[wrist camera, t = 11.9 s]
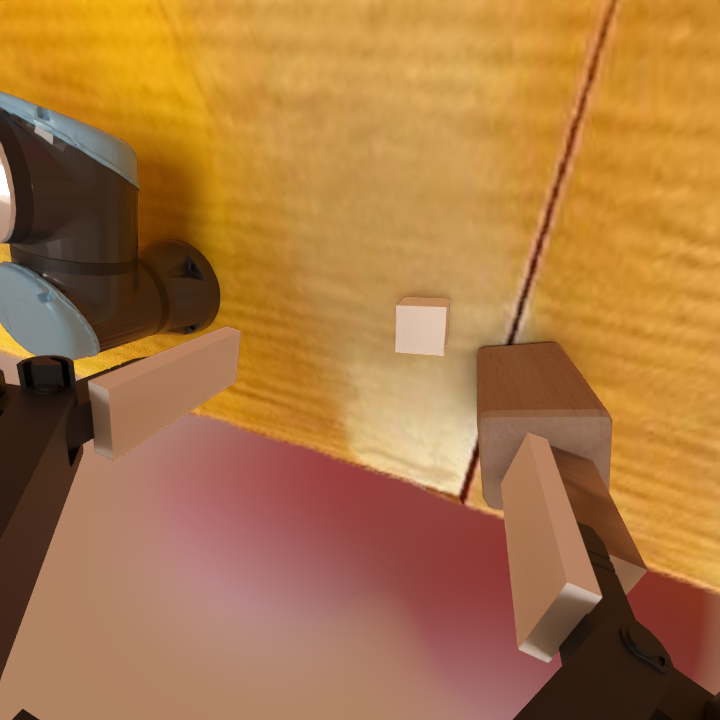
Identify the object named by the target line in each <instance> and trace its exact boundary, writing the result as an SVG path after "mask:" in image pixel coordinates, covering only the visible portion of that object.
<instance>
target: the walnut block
mask: <svg viewBox="0 0 720 720" xmlns="http://www.w3.org/2000/svg"><path fill="white" fill-rule="evenodd" d="M550 448H551V451H552V454H553V456H554V459H555V462H556V465H557V468H558V471H559V474H560V477H561V479H562V482H563V485H564V488H565V491H566V494H567V497H568V499H569V502H570V505H571V508H572V511H573V514H574V517H575V520H576V521H577V522H580V523H582V524H585V525H588V526H590V527H592V528H593V530H594V531H595V532H596V533H597V535H598V536H599V537H600V539H601V540H602V541H603V542H604V544H605V547H606V549H607V551H608V554H609V556H610V561H612V564H613V566H614V568H615V571H616V572H615V574H617V576H618V578H619V580H620V583H621V585H622V588H623V590H624V593H625V595H627V593H628V592H629V591H630V590H631V589H632V588H633V586H634V585H635V584H636V583H637V582H638V581H639V580H640V578H641V577H642V576H643V575H644V574H645V573H646V572H647V568H646V566H645V564H644V562H643V560H642V558H641V556H640V554H639V552H638V550H637V548H636V546H635V544H634V542H633V540H632V538H631V536H630V534H629V532H628V530H627V528H626V526H625V524H624V522H623V520H622V518H621V516H620V514H619V512H618V510H617V508H616V506H615V504H614V502H613V500H612V498H611V496H610V494H609V492H608V490H607V488H606V486H605V484H604V482H603V480H602V478H601V476H600V474H599V472H598V470H597V468H596V466H595V464H594V462H593V460H590V459H587V458H584V457H581V456H579V455H576V454H573V453H570V452H568V451H565V450H562V449H559V448H556V447H554V446H551V445H550Z"/></svg>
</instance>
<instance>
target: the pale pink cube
mask: <svg viewBox="0 0 720 720" xmlns="http://www.w3.org/2000/svg"><path fill="white" fill-rule="evenodd" d="M449 308H450V298H423V297H404V298H403V299H402V300H401V301H400V302H399V303H398V304H397V305H396V345H395V352H399V353H412V354H425V355H438V356H444V353H445V349H446V345H447V339H448V324H449Z"/></svg>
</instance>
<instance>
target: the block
mask: <svg viewBox="0 0 720 720" xmlns="http://www.w3.org/2000/svg"><path fill="white" fill-rule="evenodd" d="M477 428H478V441H479V454H480V466H481V479H482V492H483V498H484V500H485V501H486V503H487V505H488V507H491V508H493V509H499V510H503V500H502V491H501V482H502V481H503V479H504V477H505V475H506V473H507V471H508V469H509V467H510V465H511V463H512V461H513V459H514V458H515V456H516V454H517V452H518V450H519V448H520V446H521V444H522V442H523V440H524V438H525V437H526V435H527V433H531V434H534V435H537V436H540V437H543V438H545V439H548V442H549V445H551V446H554V447H556V448H559V449H562V450H565V451H568V452H570V453H573V454H576V455H579V456H581V457H584V458H587V459H590V460H593V462H594V464H595V466H596V468H597V470H598V472H599V474H600V476H601V478H602V480H603V482H604V484H605V486H606V488H607V490H608V492H609V478H610V458H611V437H612V419H611V417H610V415H609V413H608V411H607V410H606V408H605V407H604V406H603V404H602V403H601V401H600V400H599V399H598V397H597V396H596V394H595V393H594V392H593V390H592V389H591V387H590V386H589V385H588V383H587V382H586V381H585V379H584V378H583V376H582V375H581V374H580V372H579V371H578V369H577V368H576V367H575V365H574V364H573V362H572V361H571V360H570V358H569V357H568V355H567V354H566V353H565V351H564V350H563V349H562V347H561V346H560V344H557V343H553V342H552V343H537V344H523V345H509V346H495V347H484V348H482V349H479V351H478V353H477Z"/></svg>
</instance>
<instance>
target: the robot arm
mask: <svg viewBox="0 0 720 720" xmlns="http://www.w3.org/2000/svg"><path fill="white" fill-rule="evenodd" d="M138 191H140V185H139V183H138V169H137V157H136V154H135V152H134V150H133V149H132V147H131V146H130V145H129V144H128V143H127V142H125V141H124V140H122V139H121V138H119V137H116V136H114V135H112V134H110V133H108V132H105V131H103V130H100V129H98V128H96V127H93V126H91V125H88V124H86V123H83V122H81V121H78V120H76V119H73V118H71V117H68V116H66V115H63V114H60V113H58V112H55V111H52V110H48V109H46V108H44V107H41V106H39V105H36V104H33V103H31V102H29V101H26V100H24V99H21V98H18V97H15V96H13V95H10V94H7V93H4V92H1V91H0V243H8V244H10V252H11V260H12V262H1V263H0V323H1V324H2V326H3V327H4V328H5V330H6V331H7V332H8V333H9V334H10V335H11V337H12V338H13V339H14V340H15V341H16V342H17V343H18V344H20V345H21V346H22V347H23V348H25V349H26V350H27V351H29V352H30V353H32V354H34V355H35V356H36V357H31V358H28V359H25V360H22V361H21V362H19V363H18V364H17V369H18V375H19V380H20V386H19V385H13V384H7V383H5V378H4V373H3V371H2V370H0V679H1V676H2V673H3V670H4V668H5V665H6V662H7V660H8V657H9V654H10V651H11V649H12V646H13V643H14V641H15V638H16V635H17V632H18V630H19V627H20V624H21V621H22V618H23V616H24V613H25V611H26V608H27V605H28V602H29V600H30V597H31V594H32V592H33V589H34V586H35V583H36V580H37V578H38V575H39V572H40V569H41V567H42V564H43V562H44V559H45V556H46V553H47V551H48V548H49V545H50V542H51V540H52V537H53V534H54V532H55V529H56V526H57V523H58V521H59V518H60V515H61V512H62V510H63V507H64V504H65V502H66V499H67V496H68V493H69V491H70V487H71V485H72V482H73V479H74V477H75V474H76V472H77V469H78V466H79V463H80V461H81V458H82V455H83V444H84V443H86V442H87V441H89V440H91V439H94V449H95V453H97V454H99V455H101V456H103V457H105V458H107V459H110V460H112V461H115V460H116V459H118V458H119V457H121V456H122V455H124V454H125V453H127V452H128V451H130V450H132V449H133V448H135V447H136V446H138V445H139V444H141V443H142V442H144V441H145V440H147V439H149V438H150V437H152V436H153V435H155V434H156V433H158V432H159V431H161V430H162V429H164V428H166V427H167V426H169V425H170V424H172V423H173V422H175V421H176V420H178V419H180V418H181V417H183V416H184V415H186V414H187V413H189V412H190V411H192V410H193V409H195V408H197V407H198V406H200V405H201V404H203V403H204V402H206V401H207V400H209V399H210V398H212V397H214V396H215V395H217V394H218V393H220V392H221V391H223V390H224V389H226V388H228V387H229V386H231V385H232V384H234V383H235V382H236V376H237V366H238V356H239V346H240V336H241V331H239V330H237V329H234V328H231V327H228V326H226V327H223V328H220V329H218V330H215V331H213V332H210V333H208V334H205V335H203V336H200V337H198V338H195V339H193V340H190V341H188V342H185V343H183V344H180V345H178V346H175V347H172V348H170V349H167V350H165V351H162V352H160V353H157V354H155V355H152V356H148V357H142V358H136V359H132V360H130V361H127V362H124V363H122V364H121V365H117V366H114V367H111V368H110V369H106V370H104V371H101V372H98V373H96V374H93V375H90V376H88V377H85V378H83V379H80V380H77V381H76V379H75V371H74V362H73V361H72V360H77V359H81V358H85V357H92V356H95V355H97V354H98V353H100V352H103V351H106V350H109V349H112V348H115V347H118V346H121V345H124V344H127V343H130V342H133V341H136V340H139V339H142V338H145V337H148V336H151V335H154V334H165V335H188V334H192V333H195V332H198V331H201V330H203V329H205V328H206V327H208V326H209V325H210V324H211V323H212V321H213V320H214V318H215V317H216V314H217V311H218V308H219V299H220V297H219V287H218V283H217V279H216V277H215V274H214V272H213V270H212V268H211V266H210V265H209V263H208V262H207V260H206V259H205V258H204V256H203V255H202V254H201V253H200V252H199V251H197V250H196V249H195V248H194V247H192V246H191V245H189V244H187V243H184V242H182V241H178V240H159V241H154V242H151V243H149V244H147V245H145V246H143V247H141V248H139V249H138ZM501 491H502V500H503V510H504V519H505V529H506V538H507V547H508V557H509V567H510V576H511V586H512V594H513V604H514V614H515V624H516V633H517V643H518V649H519V650H521V651H523V652H526V653H528V654H530V655H532V656H534V657H536V658H538V659H541V660H543V661H545V662H547V663H549V662H550V660H551V659H552V658H553V657H554V655H555V654H556V653H557V652H558V651H559V652H560V656H561V662H562V667H561V668H560V669H559V670H558V671H557V672H556V673H555V674H554V675H553V677H552V678H551V679H550V680H549V681H548V682H547V683H546V684H545V685H544V686H543V687H542V689H541V690H540V691H539V692H538V693H537V694H536V695H535V696H534V697H533V698H532V700H531V701H530V702H529V703H528V704H527V705H526V706H525V707H524V708H523V709H522V710H521V711H520V712H519V714H518V715H517V716H516V717H515V718H514V719H513V720H720V692H719V693H718V694H716V695H715V696H714V695H712V694H711V693H710V692H708V691H707V690H705V689H704V688H702V687H701V686H699V685H698V684H697V683H695V682H694V681H692V680H691V679H689V678H688V677H687V676H685V675H684V674H682V673H681V672H679V671H678V670H676V669H675V668H674V667H673V664H672V661H671V658H670V656H669V654H668V653H667V651H666V650H665V648H664V647H663V645H662V644H661V642H660V641H659V640H658V639H657V638H656V637H655V636H654V635H653V634H652V633H651V632H650V631H649V630H648V629H647V628H645V627H644V626H643V625H642V624H640V623H639V622H638V621H636V619H635V617H634V614H633V612H632V610H631V607H630V605H629V602H628V600H627V597H626V595H625V593H624V590H623V588H622V585H621V583H620V580H619V578H618V576H617V574H615V572H616V571H615V568H614V566H613V564H612V561H610V556H609V554H608V551H607V549H606V547H605V544H604V542H603V541H602V540H601V539H600V537H599V536H598V535H597V533H596V532H595V531H594V530H593V528H592V527H590V526H588V525H585V524H582V523H580V522H577V521H576V520H575V517H574V514H573V511H572V508H571V505H570V502H569V499H568V497H567V494H566V491H565V488H564V485H563V482H562V479H561V477H560V474H559V471H558V468H557V465H556V462H555V459H554V456H553V454H552V451H551V448H550V445H549V442H548V439H545V438H543V437H540V436H537V435H534V434H531V433H527V435H526V437H525V438H524V440H523V442H522V444H521V446H520V448H519V450H518V452H517V454H516V456H515V458H514V459H513V461H512V463H511V465H510V467H509V469H508V471H507V473H506V475H505V477H504V479H503V481H502V482H501ZM12 720H39V719H37V718H36V717H34V716H33V715H31V714H30V713H28V712H27V711H25V710H24V709H22V710H21V711H20V712H19V713H18V714H17V715H16V716H15V717H14V718H13V719H12Z"/></svg>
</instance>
